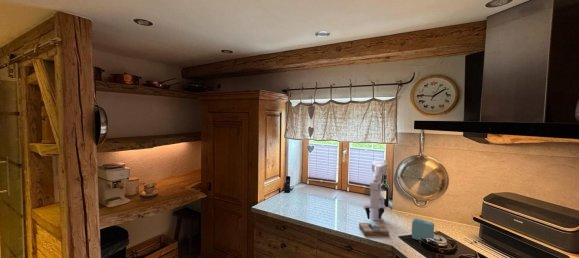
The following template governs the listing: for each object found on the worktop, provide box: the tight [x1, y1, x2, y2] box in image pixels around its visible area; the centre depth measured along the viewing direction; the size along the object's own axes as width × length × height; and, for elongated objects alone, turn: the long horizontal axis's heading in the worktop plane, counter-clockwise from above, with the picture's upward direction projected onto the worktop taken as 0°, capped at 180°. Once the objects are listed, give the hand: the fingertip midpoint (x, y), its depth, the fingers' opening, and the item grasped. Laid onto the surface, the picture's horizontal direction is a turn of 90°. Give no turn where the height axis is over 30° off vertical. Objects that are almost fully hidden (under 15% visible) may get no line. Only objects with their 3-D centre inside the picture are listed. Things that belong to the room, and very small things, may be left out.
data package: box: [411, 218, 435, 241], centre depth 149 cm, size 12×4×12 cm, turn 55°
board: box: [358, 222, 390, 237], centre depth 158 cm, size 12×16×3 cm
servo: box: [368, 222, 379, 230], centre depth 158 cm, size 9×4×6 cm, turn 2°
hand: (373, 218), depth 158 cm, fingers open, 7 cm apart
